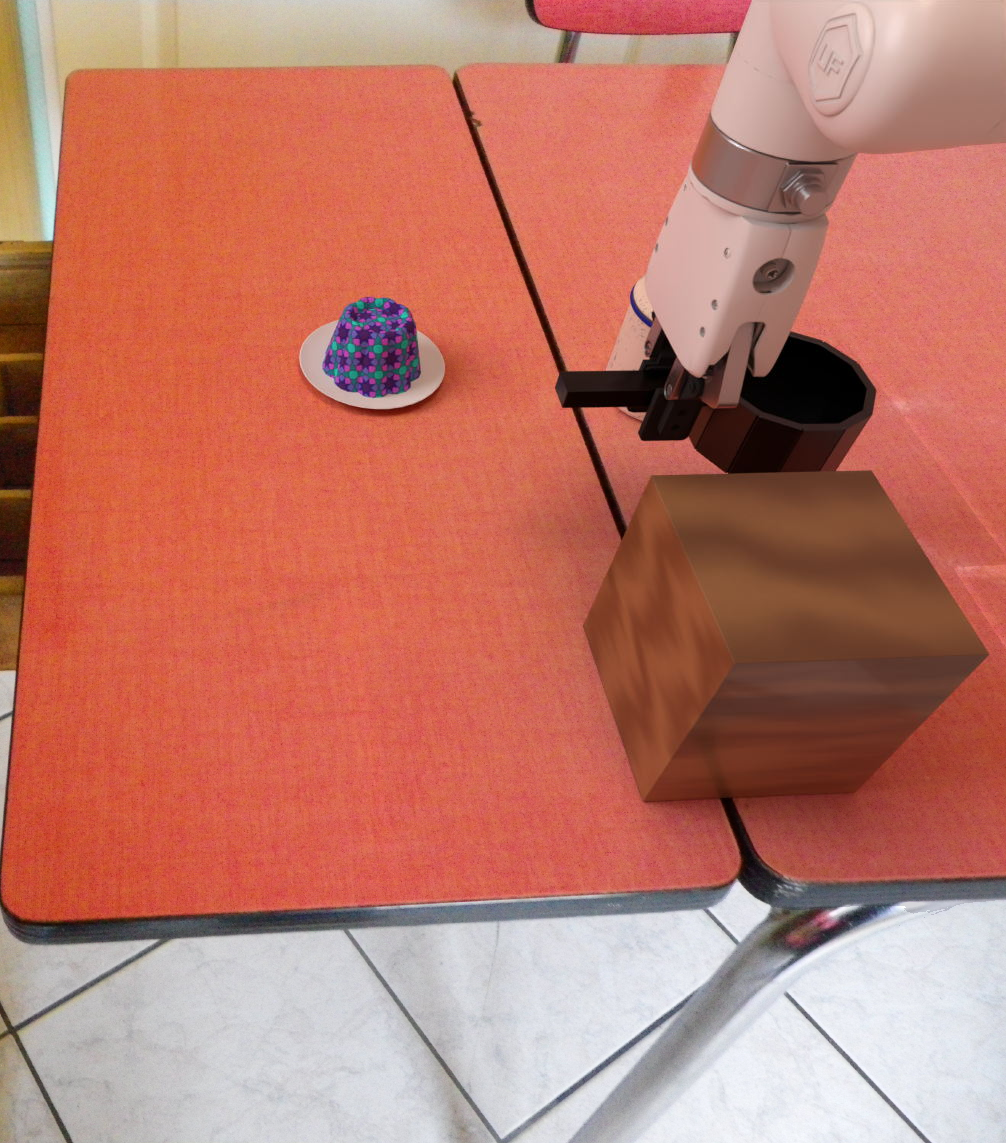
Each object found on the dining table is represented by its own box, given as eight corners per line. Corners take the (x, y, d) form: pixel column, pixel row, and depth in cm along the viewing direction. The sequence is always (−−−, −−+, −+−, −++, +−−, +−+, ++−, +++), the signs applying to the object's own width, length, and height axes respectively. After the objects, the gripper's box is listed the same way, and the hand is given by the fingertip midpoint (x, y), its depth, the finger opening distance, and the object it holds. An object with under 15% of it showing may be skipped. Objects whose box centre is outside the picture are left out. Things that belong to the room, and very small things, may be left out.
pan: (802, 385, 74) (835, 327, 70) (864, 486, 67) (903, 428, 64) (527, 389, 73) (545, 330, 69) (563, 492, 66) (585, 433, 62)
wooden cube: (855, 792, 62) (990, 654, 52) (642, 801, 61) (734, 663, 51) (770, 619, 71) (871, 469, 60) (582, 625, 70) (650, 475, 59)
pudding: (407, 314, 92) (417, 261, 88) (468, 400, 84) (481, 347, 80) (278, 337, 89) (282, 284, 85) (329, 428, 82) (335, 375, 78)
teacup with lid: (729, 428, 83) (792, 305, 74) (618, 432, 82) (668, 308, 73) (676, 335, 91) (727, 213, 82) (574, 338, 90) (615, 215, 81)
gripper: (909, 245, 50) (754, 510, 64) (780, 89, 60) (671, 347, 74) (757, 246, 50) (635, 512, 64) (654, 88, 60) (568, 348, 74)
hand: (655, 421), depth 69 cm, fingers closed on pan
